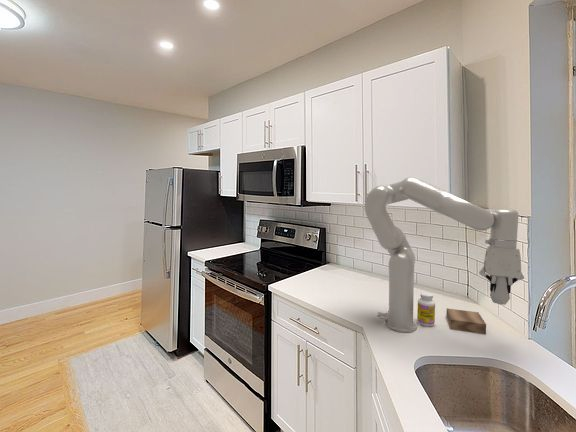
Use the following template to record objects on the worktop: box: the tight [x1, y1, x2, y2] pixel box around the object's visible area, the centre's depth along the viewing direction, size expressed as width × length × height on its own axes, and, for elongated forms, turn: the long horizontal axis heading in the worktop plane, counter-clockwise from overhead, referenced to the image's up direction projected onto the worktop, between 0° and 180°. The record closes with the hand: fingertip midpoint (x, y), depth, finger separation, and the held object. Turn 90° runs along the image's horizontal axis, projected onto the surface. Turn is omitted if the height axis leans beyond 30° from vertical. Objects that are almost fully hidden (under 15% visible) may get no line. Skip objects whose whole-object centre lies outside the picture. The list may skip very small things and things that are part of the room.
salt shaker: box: [489, 276, 511, 306], centre depth 100 cm, size 6×6×13 cm
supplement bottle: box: [416, 291, 436, 327], centre depth 118 cm, size 7×7×13 cm
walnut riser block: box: [445, 308, 487, 335], centre depth 116 cm, size 12×12×4 cm
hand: (499, 293), depth 100 cm, fingers closed on salt shaker, 3 cm apart
